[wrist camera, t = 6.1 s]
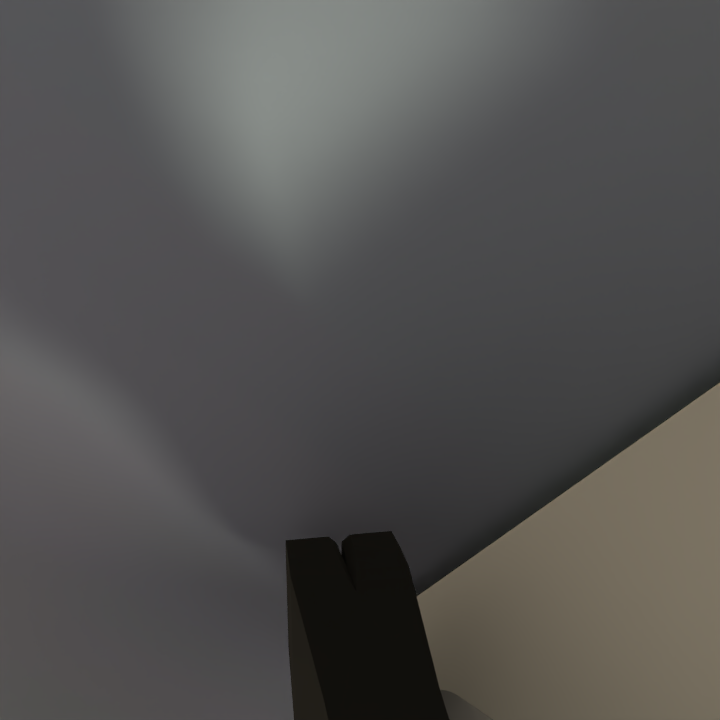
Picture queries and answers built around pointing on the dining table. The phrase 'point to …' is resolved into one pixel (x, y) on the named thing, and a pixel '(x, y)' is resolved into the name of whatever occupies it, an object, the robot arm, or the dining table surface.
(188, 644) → the dining table surface
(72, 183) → the dining table surface
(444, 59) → the dining table surface
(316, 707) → the robot arm
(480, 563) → the cabinet door
